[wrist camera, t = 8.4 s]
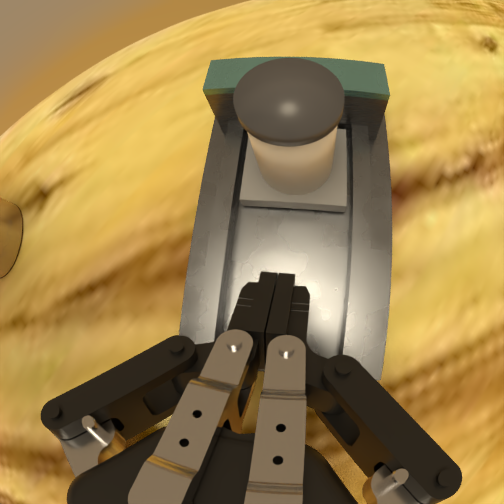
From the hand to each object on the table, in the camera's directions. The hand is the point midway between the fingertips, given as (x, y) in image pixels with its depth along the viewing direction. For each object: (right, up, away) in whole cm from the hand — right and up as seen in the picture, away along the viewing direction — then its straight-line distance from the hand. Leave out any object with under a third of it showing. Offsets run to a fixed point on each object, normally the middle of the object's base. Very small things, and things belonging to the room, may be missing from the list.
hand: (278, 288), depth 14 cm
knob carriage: (+2, +7, +8) cm, 11 cm away
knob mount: (+2, +4, +8) cm, 10 cm away
